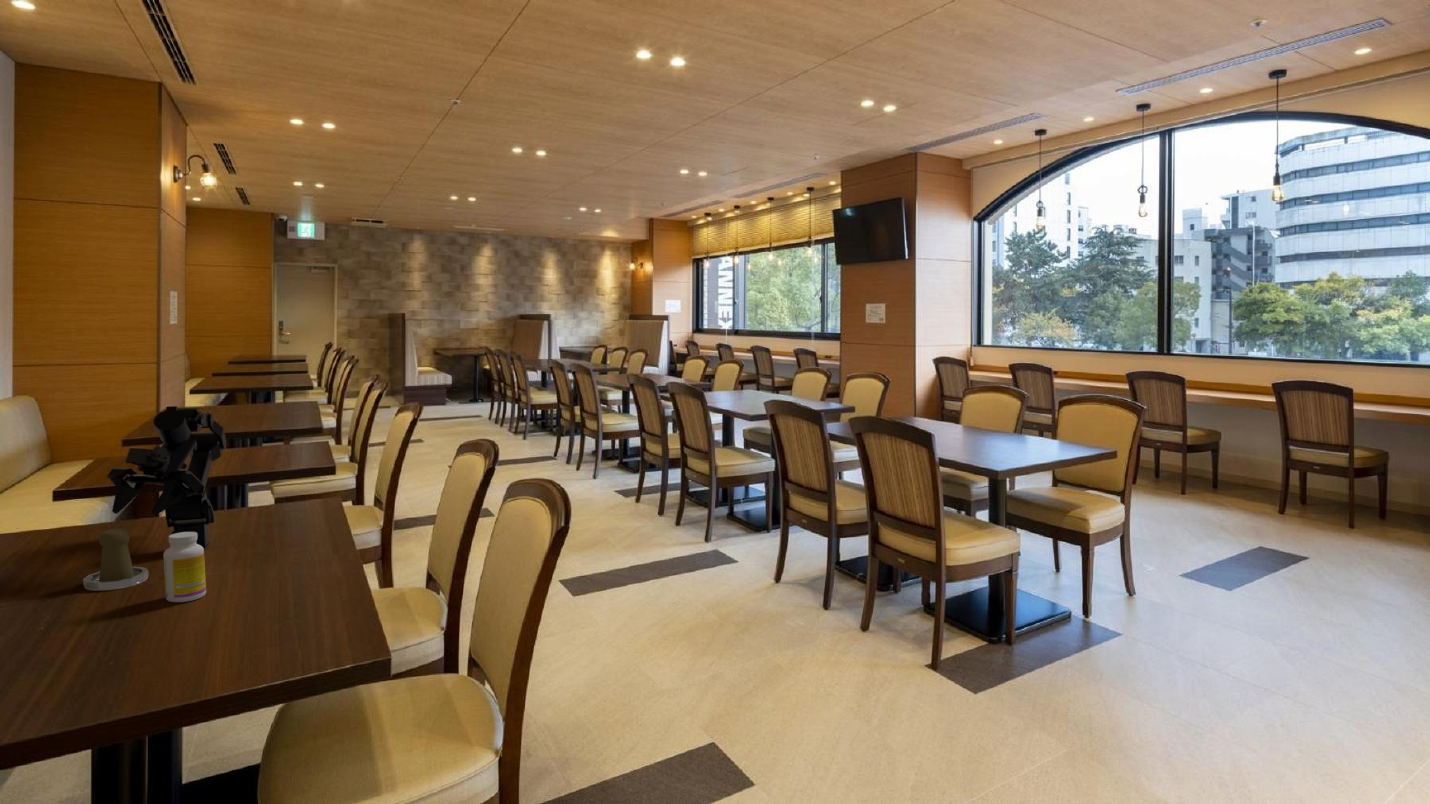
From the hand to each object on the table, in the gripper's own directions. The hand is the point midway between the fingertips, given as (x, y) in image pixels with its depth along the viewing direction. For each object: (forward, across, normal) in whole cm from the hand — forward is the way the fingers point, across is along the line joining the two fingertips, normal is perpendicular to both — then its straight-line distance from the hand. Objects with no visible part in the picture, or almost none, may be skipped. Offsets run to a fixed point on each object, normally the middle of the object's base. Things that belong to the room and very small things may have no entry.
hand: (133, 513), depth 164 cm
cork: (+13, 0, +6) cm, 14 cm away
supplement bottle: (+18, +22, +2) cm, 28 cm away
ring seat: (+13, 0, +6) cm, 14 cm away
